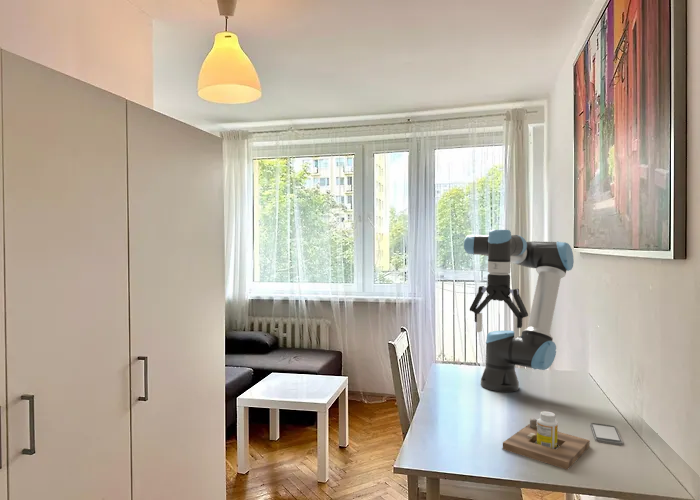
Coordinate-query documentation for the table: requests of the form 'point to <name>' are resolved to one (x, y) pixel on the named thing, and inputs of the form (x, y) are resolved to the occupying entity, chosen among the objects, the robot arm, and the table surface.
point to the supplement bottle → (547, 430)
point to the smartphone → (606, 434)
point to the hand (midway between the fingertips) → (497, 334)
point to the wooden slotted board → (558, 457)
